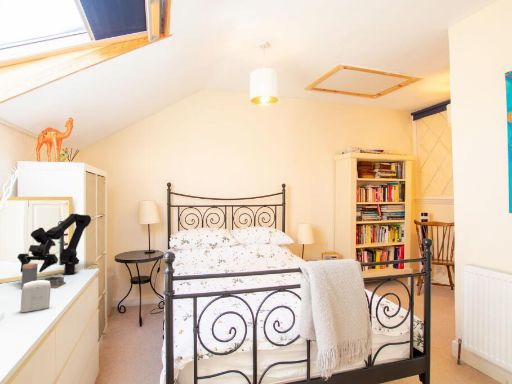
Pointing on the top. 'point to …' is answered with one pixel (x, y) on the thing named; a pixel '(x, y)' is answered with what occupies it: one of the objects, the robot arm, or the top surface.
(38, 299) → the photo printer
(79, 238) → the robot arm
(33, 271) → the connector
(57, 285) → the holder
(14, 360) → the top surface
